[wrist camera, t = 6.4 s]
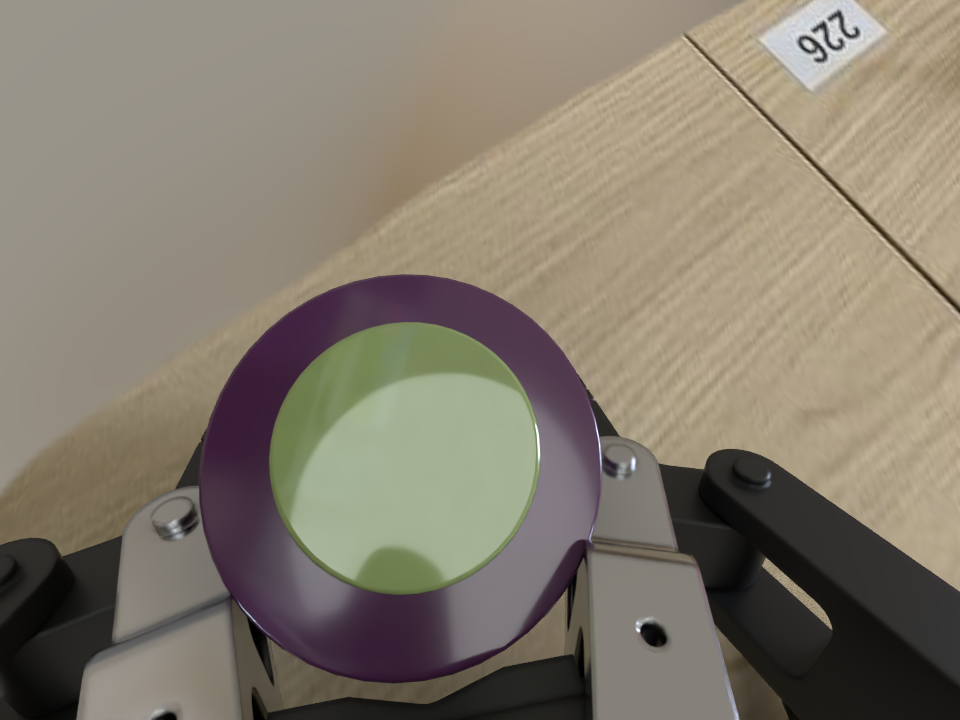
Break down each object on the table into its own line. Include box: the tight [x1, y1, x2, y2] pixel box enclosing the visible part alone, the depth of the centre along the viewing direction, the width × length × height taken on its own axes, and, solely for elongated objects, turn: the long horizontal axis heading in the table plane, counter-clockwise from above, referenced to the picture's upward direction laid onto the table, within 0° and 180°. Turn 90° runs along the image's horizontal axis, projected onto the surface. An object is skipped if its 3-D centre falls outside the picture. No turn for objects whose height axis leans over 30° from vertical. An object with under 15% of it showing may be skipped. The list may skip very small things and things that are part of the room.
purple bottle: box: [199, 274, 602, 683], centre depth 10 cm, size 5×5×11 cm
